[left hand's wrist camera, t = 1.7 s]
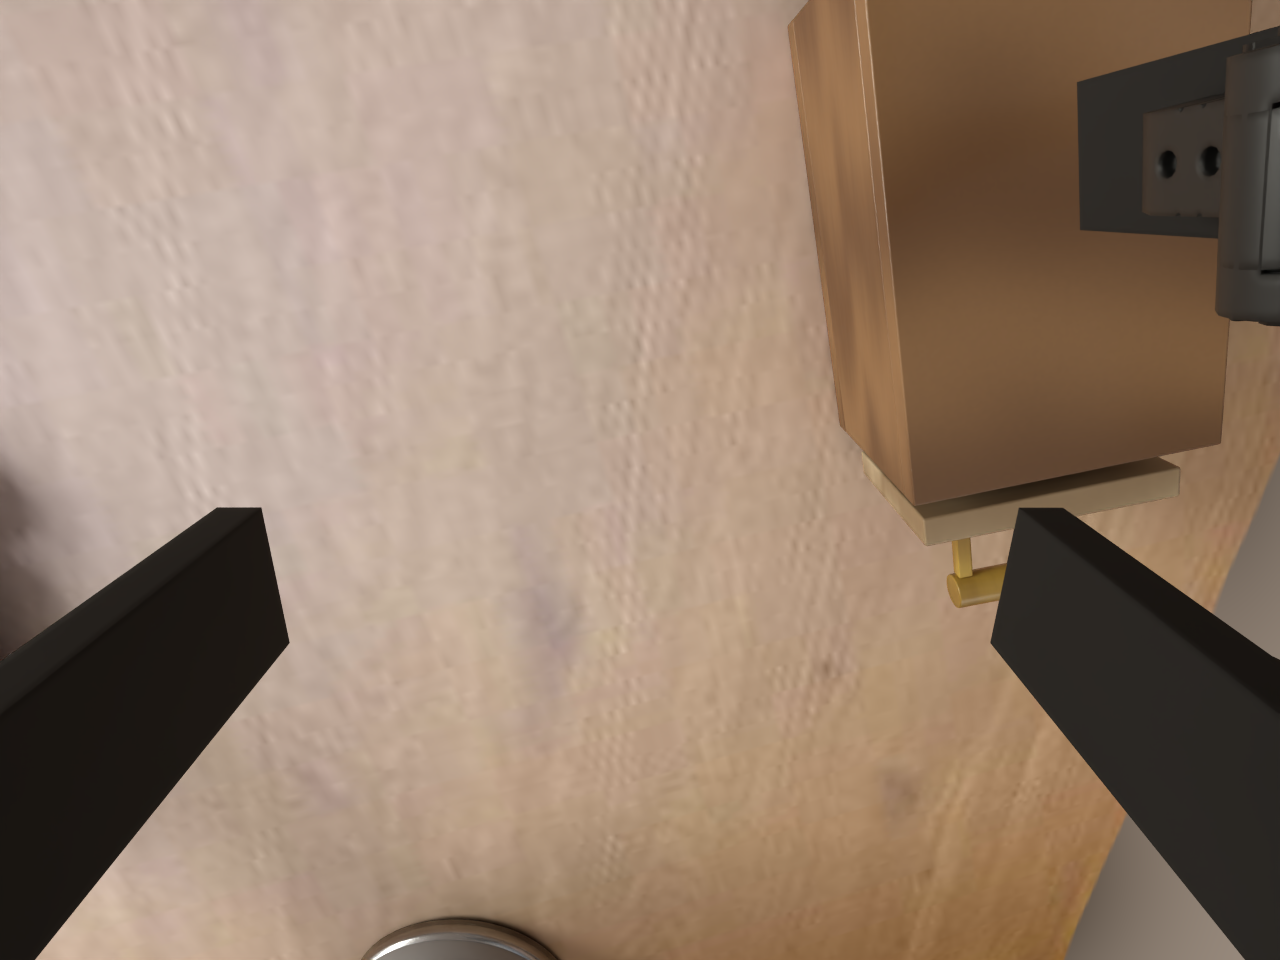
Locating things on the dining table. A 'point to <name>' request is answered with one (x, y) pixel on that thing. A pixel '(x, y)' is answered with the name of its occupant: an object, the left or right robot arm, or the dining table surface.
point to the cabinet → (997, 242)
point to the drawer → (1001, 509)
